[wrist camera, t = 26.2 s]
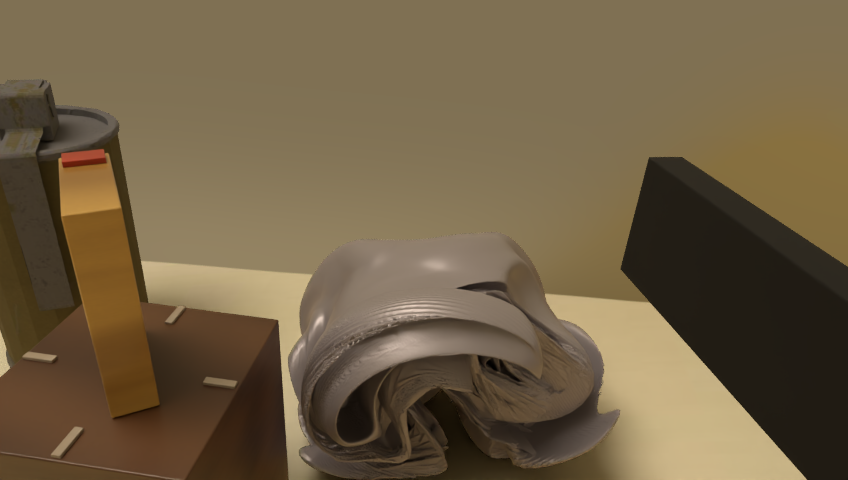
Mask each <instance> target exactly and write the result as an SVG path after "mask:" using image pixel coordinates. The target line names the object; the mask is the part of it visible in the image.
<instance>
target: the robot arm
mask: <svg viewBox="0 0 848 480" xmlns="http://www.w3.org/2000/svg"><path fill="white" fill-rule="evenodd" d="M621 270H622V271H623V272H624V273H625V275H626V276H627V277H628V278H629V279H630V280H631V281H632V283H633V284H634V285H635V286H636V287H637V288H638V289H639V290H640V292H641V293H642V294H643V295H644V296H645V297H646V298H647V299H648V301H649V302H650V303H651V304H652V305H653V306H654V307H655V308H656V310H657V311H658V312H659V313H660V314H661V315H662V316H663V317H664V319H665V320H666V321H667V322H668V323H669V324H670V325H671V326H672V328H673V329H674V330H675V331H676V332H677V333H678V334H679V336H680V337H681V338H682V339H683V340H684V341H685V342H686V343H687V345H688V346H689V347H690V348H691V349H692V350H693V351H694V352H695V354H696V355H697V356H698V357H699V358H700V359H701V360H702V361H703V363H704V364H705V365H706V366H707V367H708V368H709V369H710V370H711V372H712V373H713V374H714V375H715V376H716V377H717V378H718V380H719V381H720V382H721V383H722V384H723V385H724V386H725V387H726V389H727V390H728V391H729V392H730V393H731V394H732V395H733V396H734V398H735V399H736V400H737V401H738V402H739V403H740V404H741V405H742V407H743V408H744V409H745V410H746V411H747V412H748V413H749V414H750V416H751V417H752V418H753V419H754V420H755V421H756V422H757V424H758V425H759V426H760V427H761V428H762V429H763V430H764V431H765V433H766V434H767V435H768V436H769V437H770V438H771V439H772V440H773V442H774V443H775V444H776V445H777V446H778V447H779V448H780V449H781V451H782V452H783V453H784V454H785V455H786V456H787V457H788V458H789V460H790V461H791V462H792V463H793V464H794V465H795V466H796V468H797V469H798V470H799V471H800V472H801V473H802V474H803V475H804V477H805V478H806V479H807V480H848V267H847V266H846V265H844V264H843V263H841V262H840V261H838V260H837V259H835V258H834V257H832V256H831V255H829V254H827V253H826V252H825V251H823V250H822V249H820V248H819V247H817V246H815V245H814V244H812V243H811V242H809V241H808V240H806V239H805V238H803V237H802V236H800V235H799V234H797V233H796V232H794V231H793V230H791V229H790V228H788V227H787V226H785V225H784V224H782V223H781V222H779V221H778V220H776V219H775V218H773V217H771V216H770V215H769V214H767V213H765V212H764V211H763V210H761V209H759V208H758V207H756V206H755V205H753V204H752V203H750V202H749V201H747V200H746V199H744V198H743V197H741V196H740V195H738V194H737V193H735V192H734V191H732V190H731V189H729V188H728V187H726V186H724V185H723V184H722V183H720V182H719V181H717V180H715V179H714V178H712V177H711V176H709V175H708V174H707V173H705V172H704V171H702V170H701V169H699V168H698V167H696V166H694V165H693V164H691V163H690V162H688V161H687V160H685V159H684V158H682V157H649V160H648V164H647V168H646V171H645V175H644V179H643V183H642V187H641V191H640V195H639V199H638V203H637V207H636V210H635V214H634V218H633V222H632V226H631V230H630V234H629V238H628V242H627V246H626V250H625V254H624V257H623V261H622V265H621Z"/></svg>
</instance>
